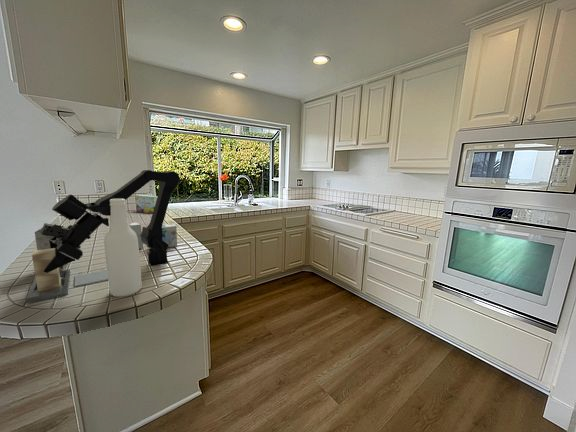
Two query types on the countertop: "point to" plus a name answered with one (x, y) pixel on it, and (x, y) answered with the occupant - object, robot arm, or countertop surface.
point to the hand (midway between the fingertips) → (43, 268)
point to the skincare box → (137, 233)
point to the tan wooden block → (40, 263)
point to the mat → (91, 278)
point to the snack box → (145, 203)
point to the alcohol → (122, 253)
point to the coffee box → (45, 244)
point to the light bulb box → (170, 234)
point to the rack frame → (49, 293)
